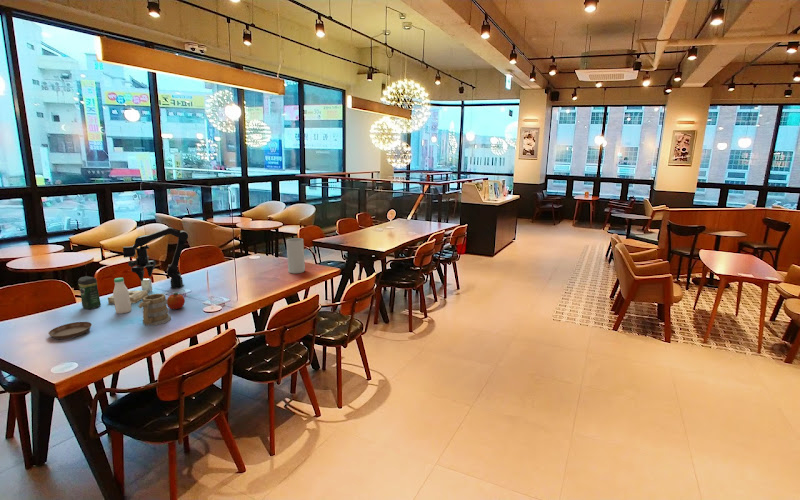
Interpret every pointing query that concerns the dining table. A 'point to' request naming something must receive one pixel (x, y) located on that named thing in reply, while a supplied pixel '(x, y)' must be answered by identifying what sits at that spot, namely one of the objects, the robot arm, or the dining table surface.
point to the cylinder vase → (295, 255)
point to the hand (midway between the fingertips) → (145, 278)
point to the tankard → (155, 309)
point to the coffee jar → (89, 292)
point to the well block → (132, 296)
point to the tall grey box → (146, 284)
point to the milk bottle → (121, 297)
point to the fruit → (175, 301)
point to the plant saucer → (70, 330)
